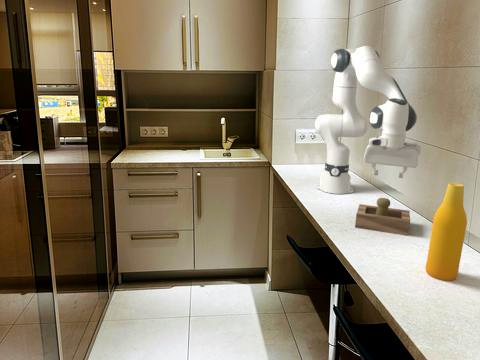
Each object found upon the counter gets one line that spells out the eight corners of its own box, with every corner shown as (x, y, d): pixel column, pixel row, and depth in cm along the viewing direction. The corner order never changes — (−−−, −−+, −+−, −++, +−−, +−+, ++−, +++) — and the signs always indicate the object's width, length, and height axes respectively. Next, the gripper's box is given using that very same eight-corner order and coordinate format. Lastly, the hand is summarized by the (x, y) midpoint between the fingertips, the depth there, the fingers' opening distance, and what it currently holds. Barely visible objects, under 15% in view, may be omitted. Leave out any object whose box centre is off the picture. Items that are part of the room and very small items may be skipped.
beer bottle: (454, 284, 132) (471, 190, 125) (422, 275, 137) (436, 184, 129) (459, 273, 139) (475, 184, 132) (428, 265, 144) (442, 178, 137)
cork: (377, 220, 184) (380, 195, 181) (391, 225, 180) (394, 199, 177) (370, 224, 180) (373, 198, 177) (383, 228, 176) (387, 201, 173)
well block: (358, 216, 190) (359, 204, 188) (407, 223, 183) (409, 210, 182) (354, 227, 176) (356, 214, 174) (408, 235, 170) (410, 222, 168)
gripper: (421, 142, 171) (416, 177, 174) (366, 138, 177) (362, 171, 181) (421, 145, 165) (416, 181, 168) (365, 140, 171) (361, 174, 175)
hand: (388, 176), depth 175 cm, fingers open, 8 cm apart
